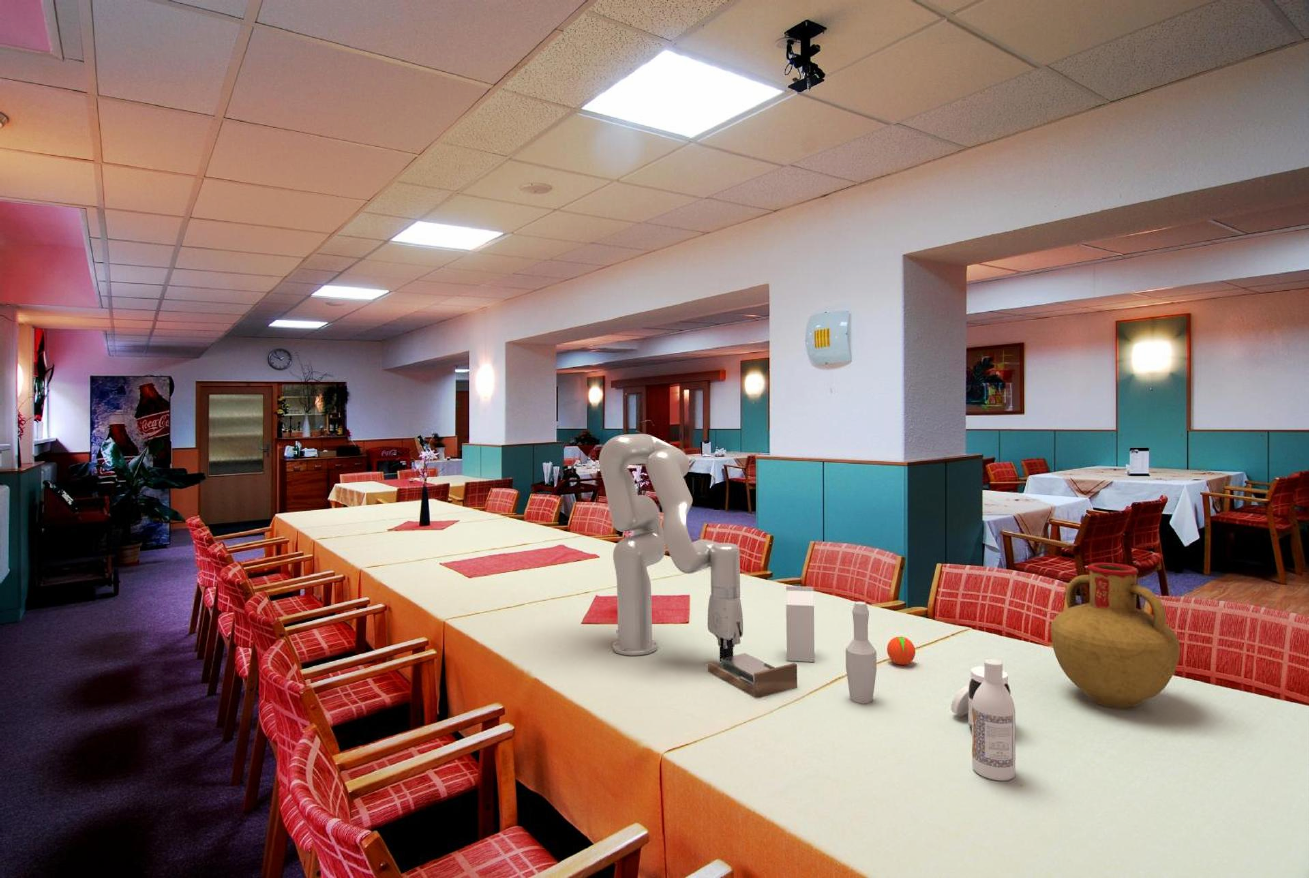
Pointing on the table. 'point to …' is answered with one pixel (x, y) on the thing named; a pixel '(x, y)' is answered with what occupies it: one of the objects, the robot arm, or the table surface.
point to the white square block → (751, 670)
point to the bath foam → (993, 726)
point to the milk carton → (800, 623)
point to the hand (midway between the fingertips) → (726, 661)
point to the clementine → (901, 650)
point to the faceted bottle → (861, 658)
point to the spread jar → (972, 693)
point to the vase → (1114, 639)
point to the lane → (761, 679)
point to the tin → (738, 662)
